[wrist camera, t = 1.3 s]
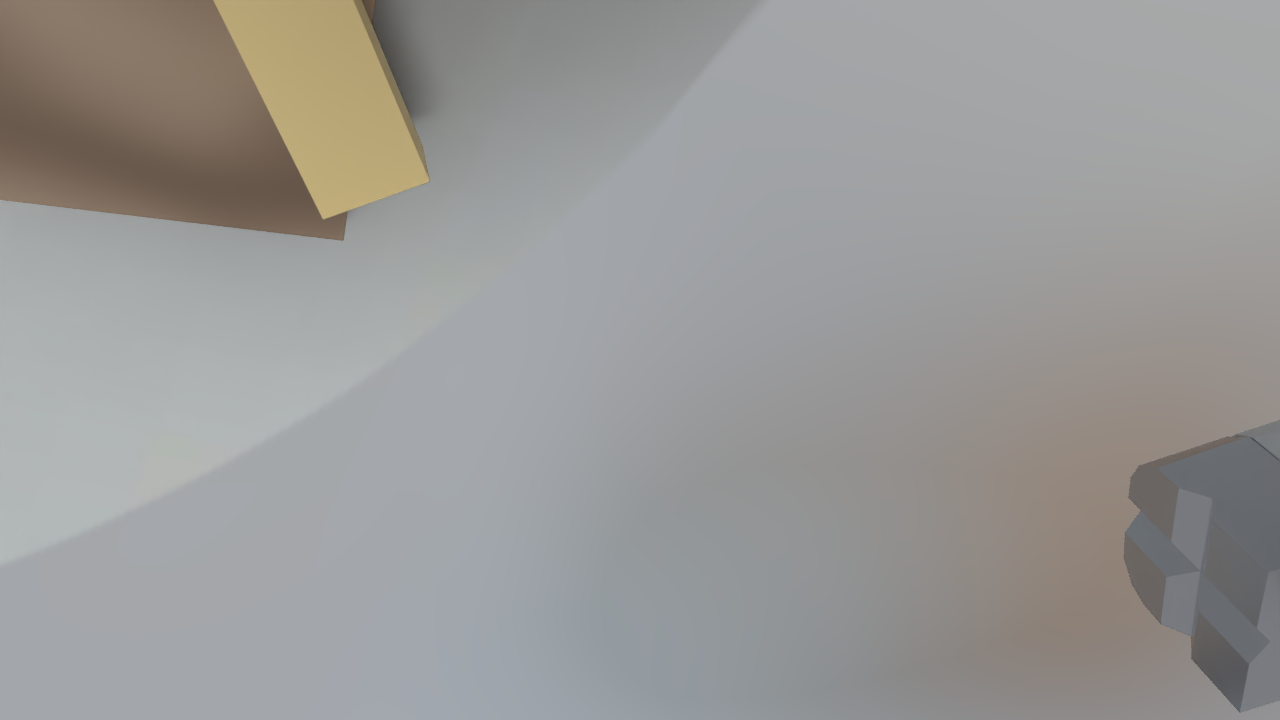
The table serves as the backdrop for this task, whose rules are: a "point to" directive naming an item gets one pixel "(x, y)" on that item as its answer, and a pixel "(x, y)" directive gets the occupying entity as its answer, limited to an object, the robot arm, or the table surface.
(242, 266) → the table surface
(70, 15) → the board
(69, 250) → the table surface
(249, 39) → the link
